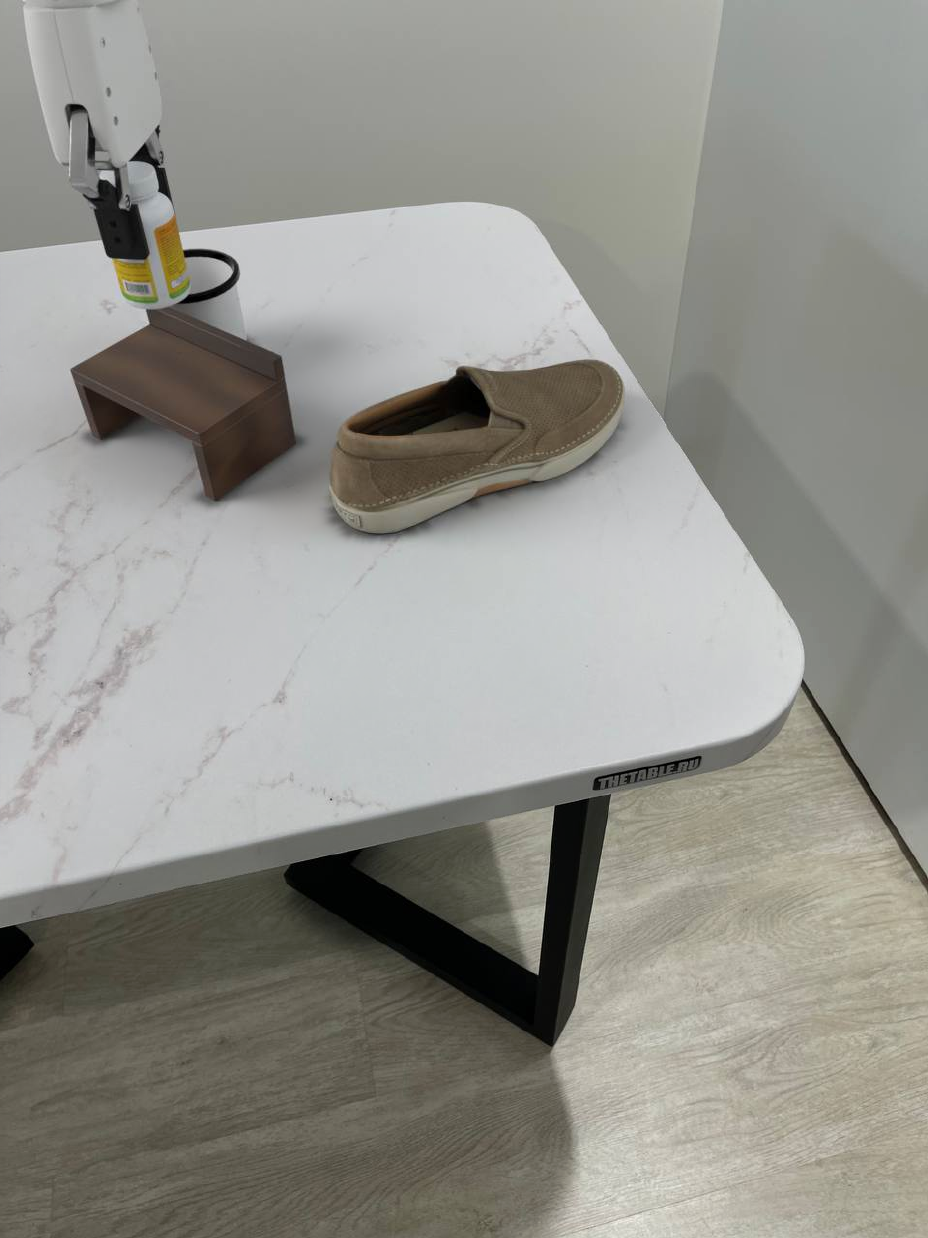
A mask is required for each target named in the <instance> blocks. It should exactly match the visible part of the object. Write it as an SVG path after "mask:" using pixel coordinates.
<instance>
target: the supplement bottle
mask: <svg viewBox="0 0 928 1238" xmlns="http://www.w3.org/2000/svg"><path fill="white" fill-rule="evenodd" d="M127 169H128V178H129V186H130V194H131V204H138V208H139V212H140V216H141V220H142V224H143V228H144V232H145V236H146V240H147V244H148V248H149V252H150V254H149V256H148V257H147V259H146V260H133V259H112V258H111V259H112V264H113V267H114V270H115V274H116V278H117V282H118V284H119V288H120V291H121V295H122V298H123V300H124V301H125V302H126V303H127V304H128V305H130V306H131V307H133V308H137V309H140V310H146V309H161V308H165V307H169V306H172V305H174V304H176V303H178V302H180V301H182V300H183V299H184V298H186V297H187V295H188V294H189V292H190V288H191V286H190V280H189V275H188V271H187V266H186V262H185V257H184V253H183V250H184V249H183V245H182V240H181V235H180V230H179V227H178V222H177V218H176V212H175V213H174V211H175V208H174V209H173V206H174V205H173V206H172V203H171V201H170V200H169V199H168V197H167V196H165V195H164V194H162V193H160V192H158V189H159V186H158V180H157V176H156V172H155V169H154V167H153V166H152V165H150V164H148V163H145V162H138V161H131V162H127ZM99 176H100V178H101V179H102V180H108V181H109V182H110V183H111V184H112V185H113V186H114V187H115V188H116V186H115V178H114V171H103V170H101V172H100V173H99Z"/></svg>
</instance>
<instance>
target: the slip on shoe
mask: <svg viewBox="0 0 928 1238" xmlns="http://www.w3.org/2000/svg"><path fill="white" fill-rule="evenodd" d="M624 383H625V382H624V381H623V379H622V377H621V376H620V374H619V372H618V371H617V370H616V369H615V367H613V366H611V365H610V364H608V363H607V362H605V361H601V360H598V359H588V358H587V359H586V358H585V359H577V360H576V359H575V360H571V361H565V362H559V363H555V364H551V365H549V366H543V367H538V368H532V369H521V370H509V371H508V370H507V371H503V370H501V371H500V370H489V369H484V368H480V367H475V366H474V367H473V366H471V365H460V366H458V367H457V368H456V370H455V374H454V375H453V376H451V377H450V378H448V379H447V380H441V381H437V382H434V383H431V384H428V385H425V386H421V387H418V388H415V389H412V390H409V391H406V392H402V393H401V394H397V395H395V396H393V397H389V398H387V399H385V400H382V401H380V402H377V403H375V404H372V405H370V406H367V407H366V408H364V409H362V410H360V411H357V412H356V413H354V414H353V415H350V416H349V417H348V418H346V419H345V420H344V421H343V422H342V423H341V425H340V427H339V430H338V432H337V440H336V442H335V443H334V445H333V448H332V455H331V461H330V467H329V473H328V475H329V487H328V488H329V491H330V497H331V501H332V504H333V507H334V508H335V510H336V512H337V514H338V515H339V516H340V518H341V519H342V520H343V521H344V522H345V523H346V524H348V525H349V526H350V527H351V528H353V529H356V530H358V531H361V532H365V533H370V534H390V533H396V532H399V531H400V532H401V531H403V530H405V529H408V528H411V527H413V526H416V525H418V524H420V523H423V522H424V521H427V520H429V519H430V518H433V517H435V516H437V515H439V514H441V513H443V512H445V511H447V510H450V509H452V508H455V507H456V506H458V505H461V504H463V503H465V502H467V501H469V500H471V499H474V498H477V497H479V496H483V495H486V494H490V493H493V492H498V491H502V490H507V489H510V488H513V487H514V488H515V487H518V486H522V485H526V484H530V483H532V482H543V481H548V480H551V479H554V478H556V477H559V476H562V475H564V474H566V473H568V472H571V471H572V470H574V469H576V468H577V467H578V466H580V465H582V464H583V463H585V462H587V460H589V459H590V458H591V457H592V456H593V455H595V454H596V453H597V452H598V451H599V450H600V449H601V448H603V446H604V445H605V444H606V443H607V441H608V440H610V438H611V437H612V435H613V434H614V432H615V430H616V429H617V427H618V425H619V422H620V420H621V417H622V414H623V410H624V407H625V401H626V400H625V399H626V387H625V384H624Z"/></svg>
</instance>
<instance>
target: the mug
mask: <svg viewBox="0 0 928 1238" xmlns="http://www.w3.org/2000/svg"><path fill="white" fill-rule="evenodd" d="M183 253H184V257H185V262H186V266H187V271H188V275H189V280H190V286H191V288H190V292H189V294H188V295H187V297H186V298H184V299H183V300H182V301H180V302H178V303H176V304H174V305H172V306H169V307H171V308H173V309H175V310H177V311H180V312H182V313H184V314H187V315H189V316H191V317H193V318H196V319H198V320H200V321H203V322H205V323H207V324H210V325H212V326H214V327H216V328H219V329H221V330H223V331H226V332H228V333H230V334H232V335H235V336H237V337H239V338H242V339H244V340H246V341H248V338H247V333H246V327H245V322H244V317H243V311H242V307H241V301H240V297H239V290H238V286H237V282H238V281H239V280H240V276H241V269H240V266H239V263H238V261H237V260H236V259H235V258H234V257H233V256H232V255H229V254H228V253H225V252H223V251H220V250H216V249H210V248H186V249H183Z"/></svg>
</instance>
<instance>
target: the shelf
mask: <svg viewBox="0 0 928 1238" xmlns="http://www.w3.org/2000/svg"><path fill="white" fill-rule="evenodd" d="M145 312H146V316H147V320H148V322H149V324H147V325H145V326H144V327H142V328H140V329H138V330H136V331H135V332H133V333H131V334H129V335H128V336H126V337H124V338H122V339H121V340H119V341H116V342H115V343H113V344H112V345H109V346H108V347H106V348H105V349H103V350H101V351H100V352H97V353H95V354H94V355H92V356H90V357H88V358H86V359H85V360H83V361H82V362H80V363H78V364H76V365H74V366H73V367H71V368H70V369H69V371H70V374H71V376H72V377H71V378H72V380H73V383H74V386H75V389H76V391H77V394H78V396H79V400H80V403H81V406H82V409H83V412H84V414H85V418H86V421H87V424H88V427H89V429H90V432H91V435H92V436H93V437H95V438H96V439H98V440H103V439H104V438H106V437H107V436H109V435H110V434H112V433H115V431H117V430H118V429H120V428H122V427H123V426H125V425H127V424H128V423H129V422H132V421H133V420H134V419H137V417H139V416H142V417H144V418H146V419H148V420H149V421H151V422H154V423H156V424H158V425H160V426H162V427H164V428H166V429H168V430H169V431H172V432H174V433H176V434H178V435H179V436H181V437H183V438H185V439H187V440H189V441H191V444H192V448H193V452H194V456H195V459H196V462H197V468H198V471H199V475H200V480H201V483H202V487H203V491H204V494H205V497H206V498H208V499H209V500H212V501H214V502H217V501H218V500H219V499H221V498H223V496H225V495H226V494H228V493H230V492H231V491H232V490H233V489H234V488H237V486H239V485H240V484H242V483H243V482H244V481H246V480H247V479H248V478H250V477H251V476H253V475H254V474H256V473H257V472H258V471H260V470H261V469H262V468H264V467H265V466H266V465H268V464H269V463H270V462H272V461H273V460H275V459H276V458H278V457H279V456H280V455H282V454H283V453H284V452H286V451H287V450H289V449H290V448H291V447H292V446H294V445H295V444H296V443H297V440H296V434H295V429H294V423H293V416H292V411H291V404H290V398H289V392H288V387H287V380H286V375H285V374H286V373H285V367H284V361H283V356H282V355H280V354H279V353H276V352H274V351H271V350H269V349H266V348H265V347H263V346H259V345H258V344H255V343H253V342H251V341H249V340H247V341H246V340H244V339H242V338H239V337H237V336H235V335H232V334H230V333H228V332H226V331H223V330H221V329H219V328H216V327H214V326H212V325H210V324H207V323H205V322H203V321H200V320H198V319H196V318H193V317H191V316H189V315H187V314H184V313H182V312H180V311H177V310H175V309H173V308H171V307H165V308H161V309H145Z"/></svg>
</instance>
